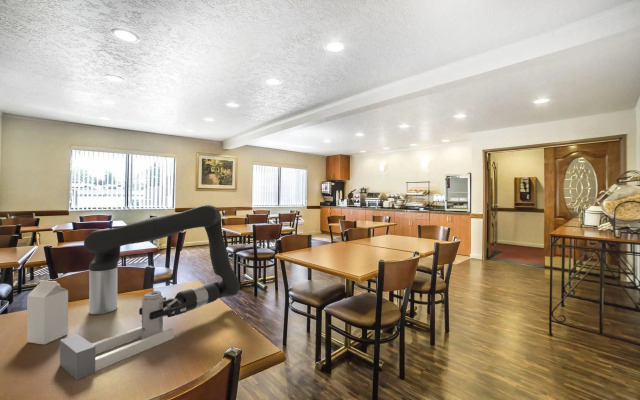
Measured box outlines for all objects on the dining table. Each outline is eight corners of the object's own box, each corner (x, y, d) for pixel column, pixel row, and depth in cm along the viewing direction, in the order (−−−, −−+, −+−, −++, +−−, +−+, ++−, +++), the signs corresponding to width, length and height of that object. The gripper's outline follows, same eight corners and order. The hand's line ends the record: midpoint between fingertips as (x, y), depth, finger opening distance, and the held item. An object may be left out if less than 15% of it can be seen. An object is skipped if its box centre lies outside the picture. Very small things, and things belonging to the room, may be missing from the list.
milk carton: (44, 345, 91) (44, 285, 90) (26, 342, 92) (26, 283, 92) (68, 334, 98) (68, 278, 97) (51, 332, 99) (51, 277, 99)
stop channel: (60, 364, 80) (60, 339, 80) (155, 329, 102) (155, 309, 102) (76, 380, 74) (76, 352, 74) (174, 338, 96) (174, 317, 96)
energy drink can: (143, 336, 97) (143, 291, 97) (163, 332, 100) (163, 289, 100) (140, 344, 92) (140, 297, 92) (161, 341, 94) (162, 295, 94)
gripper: (180, 285, 112) (133, 298, 97) (204, 292, 104) (156, 307, 90) (180, 304, 112) (133, 320, 97) (204, 313, 104) (156, 331, 90)
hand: (145, 314), depth 94 cm, fingers closed on energy drink can, 6 cm apart
